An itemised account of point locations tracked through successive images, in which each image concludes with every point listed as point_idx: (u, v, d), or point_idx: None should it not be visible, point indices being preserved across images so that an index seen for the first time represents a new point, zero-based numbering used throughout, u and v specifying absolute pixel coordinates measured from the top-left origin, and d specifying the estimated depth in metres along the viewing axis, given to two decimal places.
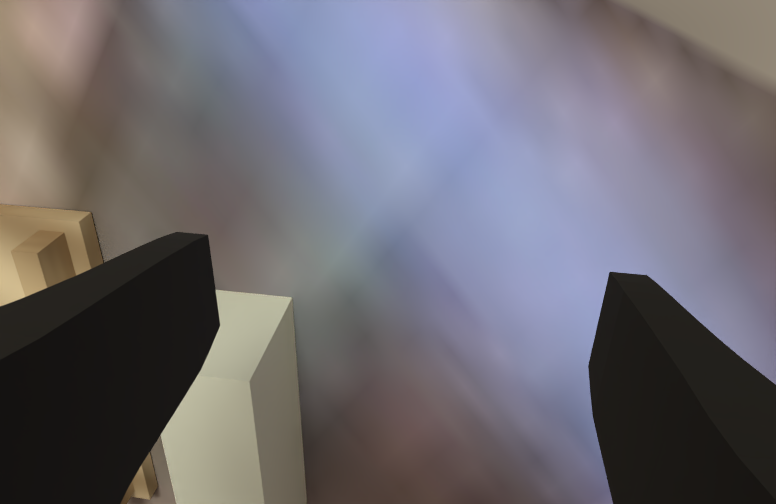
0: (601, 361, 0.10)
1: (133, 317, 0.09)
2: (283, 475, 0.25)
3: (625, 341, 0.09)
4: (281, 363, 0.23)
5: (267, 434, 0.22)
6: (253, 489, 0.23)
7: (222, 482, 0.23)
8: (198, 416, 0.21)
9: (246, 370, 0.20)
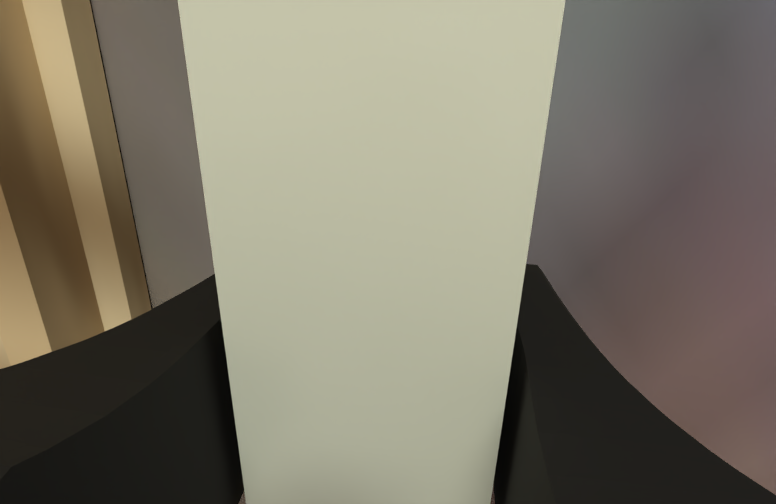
0: None
1: None
2: None
3: None
4: None
5: None
6: (474, 410, 0.08)
7: (381, 389, 0.08)
8: (344, 144, 0.06)
9: None
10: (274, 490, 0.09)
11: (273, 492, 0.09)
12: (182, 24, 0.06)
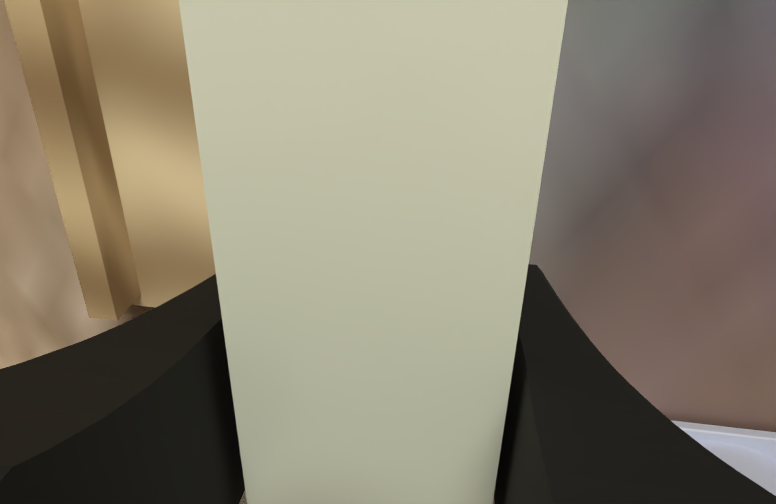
0: None
1: None
2: None
3: None
4: None
5: None
6: (476, 410, 0.08)
7: (383, 389, 0.08)
8: (344, 143, 0.06)
9: None
10: (275, 491, 0.09)
11: (274, 493, 0.09)
12: (183, 23, 0.06)
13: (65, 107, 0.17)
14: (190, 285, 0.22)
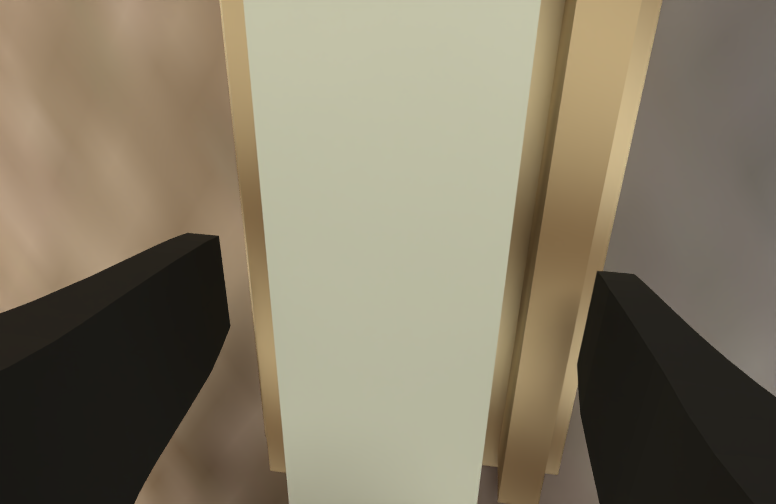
0: (588, 360, 0.10)
1: (146, 319, 0.09)
2: None
3: (611, 339, 0.09)
4: None
5: None
6: (476, 319, 0.09)
7: (398, 302, 0.09)
8: (370, 89, 0.08)
9: None
10: (305, 399, 0.11)
11: (304, 401, 0.11)
12: None
13: None
14: None
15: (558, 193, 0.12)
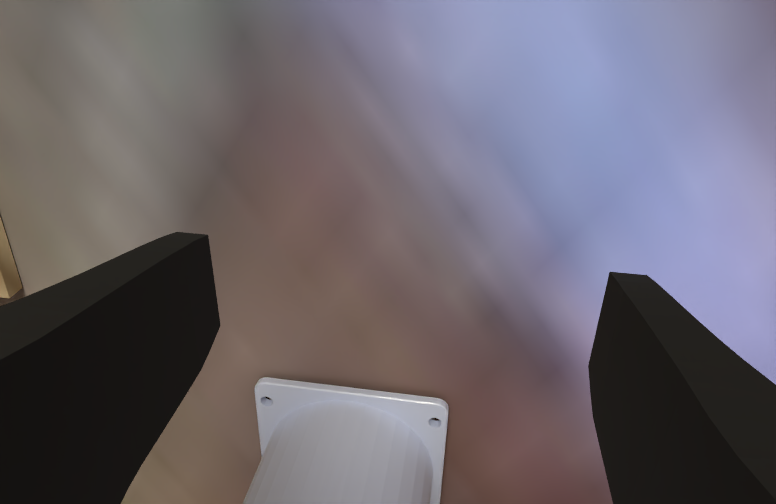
0: (601, 361, 0.10)
1: (133, 317, 0.09)
2: None
3: (625, 341, 0.09)
4: None
5: None
6: None
7: None
8: None
9: None
10: None
11: None
12: None
13: None
14: None
15: None
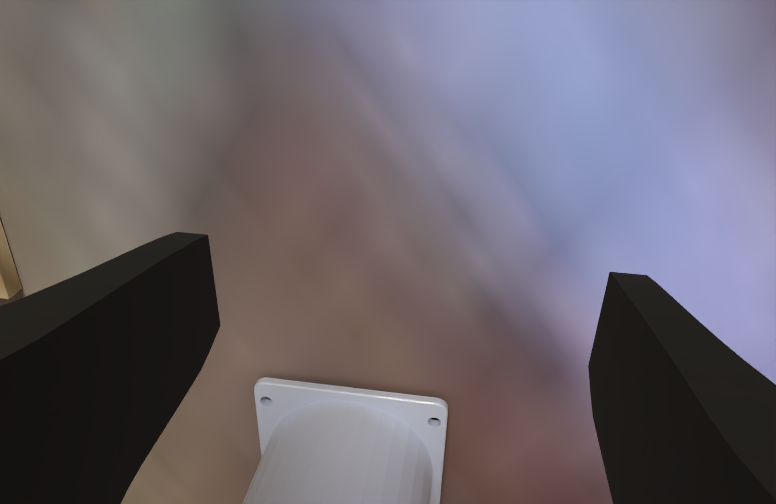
0: (601, 361, 0.10)
1: (133, 317, 0.09)
2: None
3: (625, 341, 0.09)
4: None
5: None
6: None
7: None
8: None
9: None
10: None
11: None
12: None
13: None
14: None
15: None
